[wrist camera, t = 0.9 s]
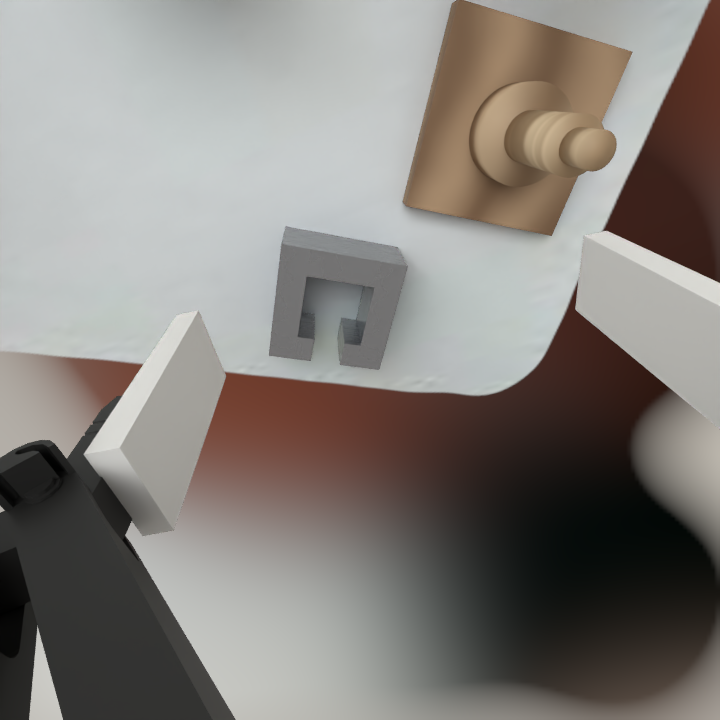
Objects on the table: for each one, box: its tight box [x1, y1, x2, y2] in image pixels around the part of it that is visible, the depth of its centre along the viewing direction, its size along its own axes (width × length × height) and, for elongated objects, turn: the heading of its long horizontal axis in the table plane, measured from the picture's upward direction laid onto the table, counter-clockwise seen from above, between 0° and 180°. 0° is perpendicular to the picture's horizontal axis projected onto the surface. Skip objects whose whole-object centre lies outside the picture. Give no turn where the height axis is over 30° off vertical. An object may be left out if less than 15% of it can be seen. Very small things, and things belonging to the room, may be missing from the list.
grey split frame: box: [269, 227, 408, 370], centre depth 34 cm, size 9×9×4 cm
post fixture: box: [403, 0, 632, 236], centre depth 25 cm, size 12×12×12 cm
